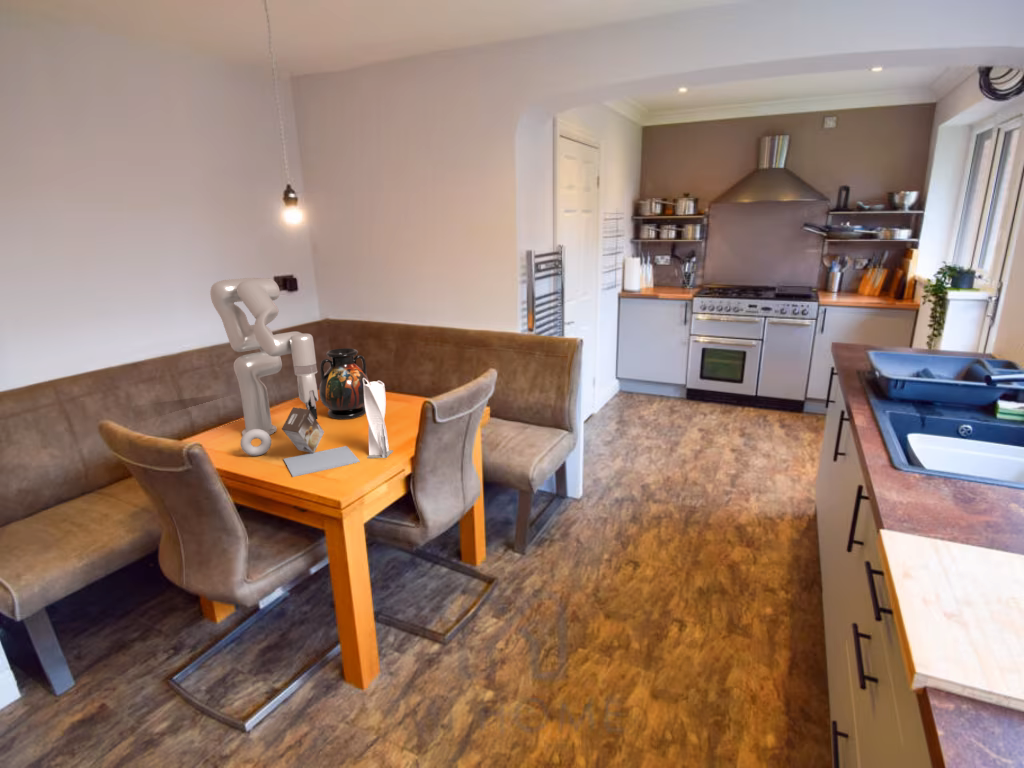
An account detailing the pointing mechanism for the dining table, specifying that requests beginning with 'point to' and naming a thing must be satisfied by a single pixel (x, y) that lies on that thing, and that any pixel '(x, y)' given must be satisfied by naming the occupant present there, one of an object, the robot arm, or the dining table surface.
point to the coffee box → (303, 429)
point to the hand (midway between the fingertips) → (312, 419)
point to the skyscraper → (376, 419)
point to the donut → (254, 450)
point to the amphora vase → (343, 384)
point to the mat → (320, 461)
